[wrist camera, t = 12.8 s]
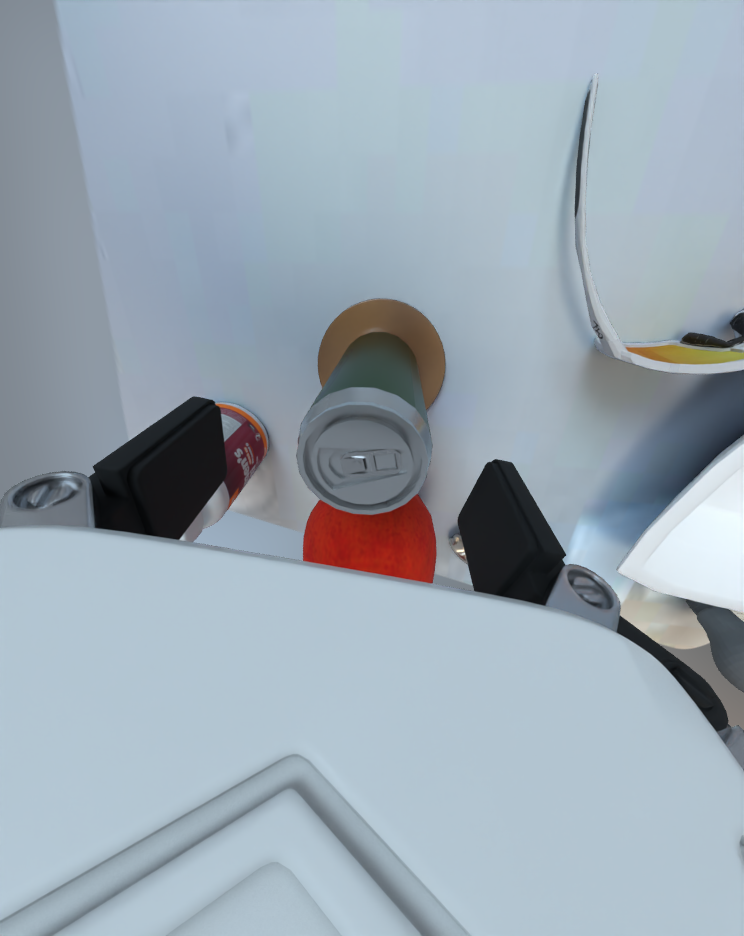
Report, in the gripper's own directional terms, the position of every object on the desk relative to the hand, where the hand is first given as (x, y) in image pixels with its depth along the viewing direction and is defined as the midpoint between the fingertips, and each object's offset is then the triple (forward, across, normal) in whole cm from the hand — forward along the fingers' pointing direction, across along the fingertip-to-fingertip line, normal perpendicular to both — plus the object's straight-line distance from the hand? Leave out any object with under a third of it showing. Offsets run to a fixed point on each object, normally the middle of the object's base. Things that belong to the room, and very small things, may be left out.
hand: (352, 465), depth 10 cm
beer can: (+13, -1, 0) cm, 13 cm away
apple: (+13, -3, +11) cm, 17 cm away
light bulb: (+12, -40, +16) cm, 45 cm away
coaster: (+13, -1, 0) cm, 13 cm away
